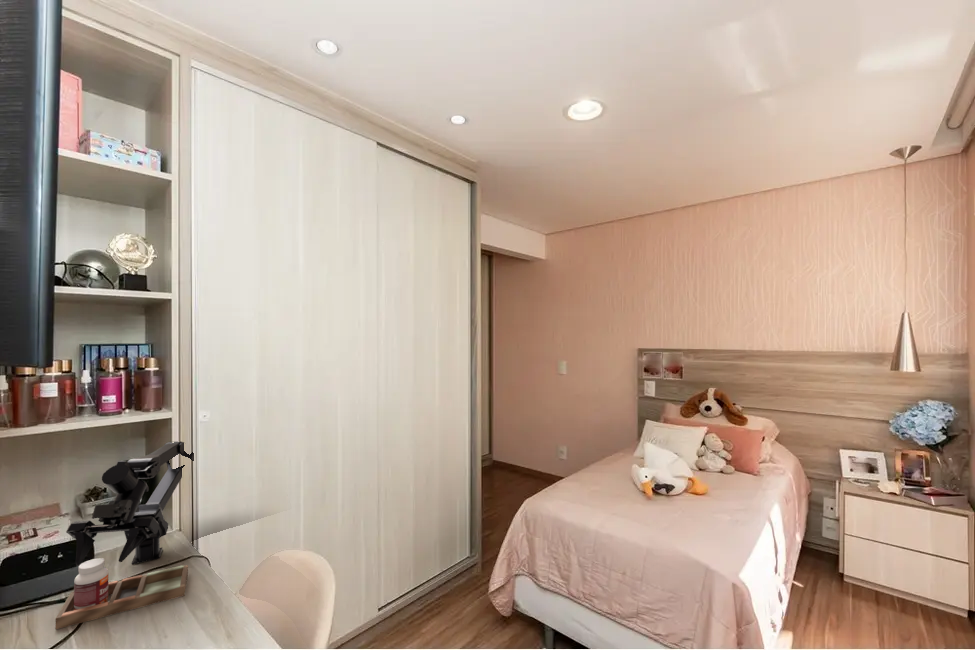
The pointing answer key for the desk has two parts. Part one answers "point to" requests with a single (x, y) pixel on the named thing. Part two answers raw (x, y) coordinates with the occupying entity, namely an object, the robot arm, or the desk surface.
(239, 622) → the desk surface
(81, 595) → the pill bottle
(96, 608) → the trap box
